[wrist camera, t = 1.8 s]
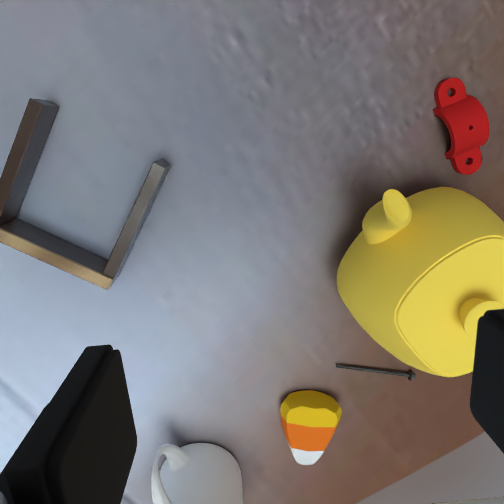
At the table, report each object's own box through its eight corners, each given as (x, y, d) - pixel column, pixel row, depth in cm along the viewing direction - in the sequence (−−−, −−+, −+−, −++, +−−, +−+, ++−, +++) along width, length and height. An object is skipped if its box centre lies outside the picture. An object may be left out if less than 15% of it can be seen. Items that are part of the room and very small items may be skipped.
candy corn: (346, 411, 38) (334, 478, 41) (341, 391, 41) (331, 454, 43) (281, 405, 38) (274, 472, 41) (281, 385, 41) (274, 449, 44)
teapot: (397, 115, 33) (489, 109, 22) (519, 283, 39) (648, 352, 27) (273, 223, 36) (295, 272, 24) (404, 369, 41) (476, 469, 29)
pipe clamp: (483, 166, 35) (499, 168, 33) (452, 179, 35) (465, 182, 33) (461, 72, 33) (476, 68, 31) (427, 87, 33) (440, 84, 31)
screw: (413, 382, 41) (410, 373, 41) (417, 378, 40) (415, 368, 41) (334, 372, 40) (333, 363, 41) (337, 367, 39) (336, 358, 40)
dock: (1, 222, 34) (-22, 232, 31) (47, 100, 32) (27, 97, 29) (118, 276, 36) (108, 290, 33) (171, 164, 34) (165, 168, 31)
